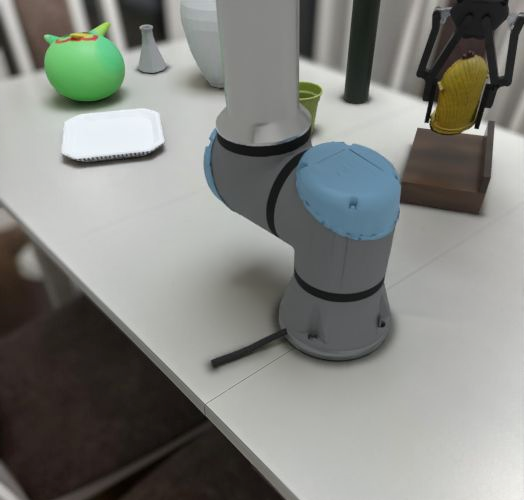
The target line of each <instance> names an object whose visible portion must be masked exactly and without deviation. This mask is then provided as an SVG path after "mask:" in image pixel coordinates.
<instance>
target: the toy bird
mask: <svg viewBox="0 0 524 500" xmlns="http://www.w3.org/2000/svg"><path fill="white" fill-rule="evenodd" d="M111 25H112V24H111V22H110V21H106V22H103V23H101V24H99V25H98V26H96V27H95V28H93V29H91V30H90V31H81V32H72V33H71V32H70V33H67V34H64V35H62V36H60V37H59V36H56V35H53V34H44V35H43V38H44V40H45V41H46V43H48V45H49V46H48V47H47V50H46V52H45V55H44V60H43V61H44V62H43V66H44V67H43V68H44V73H45V75H46V76H45V77H46V78H47V80H48V82H49V84H50V85H51V87H53V89H54V90H55V91H56V92H57V93H59V94H60V95H62V96H63V97H65V98H67V99H70V100H73V101H77V102H97V101H101V100H103V99H106V98H109V97H110V96H112V95H114V94H115V93H116V92H118V90H119V89H120V88H121V87H122V85H123V83H124V80H125V76H126V64H125V59H124V57H123V55H122V53H121V51H120V49H119V48H118V46H116V44H115V43H114V42H113V41H111V40H110V39H108V38H107V37H105V36H106V34H107V32H108V30H109V29H110V27H111Z"/></svg>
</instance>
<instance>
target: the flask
mask: <svg viewBox="0 0 524 500" xmlns="http://www.w3.org/2000/svg"><path fill="white" fill-rule="evenodd" d="M153 29H154V26H153V25H151V24H142V25H140V26H139V30H140V31H141V33H140V34H141V46H140V47H141V48H140V54H139V61H138V66H137V70H139V71H141V72H142V73H151V74H154V73H158V72H161V71H164V70H165V69H166V68H167V67H168V66H167V64H166V62H165V59H164V58H163V56H162V53H161V52H160V50H159V47H158V45H157V43H156V40H155V36H154V32H153Z"/></svg>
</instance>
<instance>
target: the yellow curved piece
mask: <svg viewBox="0 0 524 500" xmlns="http://www.w3.org/2000/svg"><path fill="white" fill-rule="evenodd" d="M489 76H490V75H489V69H488V64H487V62H486V61H485V59H484V58H483V57H482V56H481V55H478V54H476V51H472V50H470V49H469V50H467V51H466V53H463V54H462V55H461V58H460V59H457V60H456V61H454V62H453V64H452V65H451V66H449V67H448V68H447V69H446V71H445V72H444V74H443V75H442V78H441V80H439V81H438V82H437V87H438V96H437V103H436V106H435V109H434V110H433V112H431V116H430V120H429V123H428V125H429V129H431V130H432V131H433V132H435V133H438V134H441V135H456V134H459V133H464V132H466V131H468V130H470V129H472V128H473V127H474V126H475V121H476V117H477V113H478V110H479V106H480V103H481V98H482V94H483V90H484V87H485V84H486V80H487V79H489V78H490V77H489Z"/></svg>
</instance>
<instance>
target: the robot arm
mask: <svg viewBox="0 0 524 500" xmlns="http://www.w3.org/2000/svg"><path fill="white" fill-rule="evenodd" d="M509 3H510V0H455V1H454V2H453V4H452V5H451V6H448V7H441V6H440V5H439V6H438V5H437V6H436V7H434V9H433V11H432V14H431V29H430V32H429V34H428V38H427V40H426V44H425V47H424V50H423V52H422V55H421V57H420V61H419V64H418V66H417V69H416V72H415V75H416V77H417V78H419V79H420V78H421V79H422V80H423V81H424V82H425V84H424V89H423V94H422V101H423V102H427V107H426V111H425V113H426V114H425V117H424V121H423V123H424V124H429V122H430V116H431V114H432V111H433V106H434V101H435V97H436V92H437V87H438V83H437V82H439V78H436V77H437V75H438V74H439V72H440V71H441V69H442V68H443V67H444V65H445V64H446V62H447V61H448V58H449V57H450V56H451V54H452V52H453V51H454V50H455V48H456V46H457V45H458V44H459V43H460V41H461V39H463V40H464V39H467V40H469V39H474V40H475V39H476V40H478V41H484V46H485V47H484V48H485V52H486V53H485V54H486V61H487V69H488V72H489V75H490V76H489V77H488V78H489V83H488V82H487V83H486V82H485V84H484V87H483V91H482V94H481V98H480V103H479V107H478V110H477V117H476V121H475V124H474V125H473V128H474V129H475V130H480V127H481V122H482V120H483V116H484V112H485V109H492V108H493V106H494V102H495V99H496V97H497V93H498V90H499V89H500V88H503V87H507V88H508V87H510V86H511V85H512V84H513V77H514V70H515V64H516V57H517V52H518V51H517V50H518V44H519V37H520V34H521V31H522V29H523V28H524V12H523V11H521V12H519V13H517V12H514V11H511V10H510V7H509ZM216 9H217V19H218V29H219V39H220V49H221V59H222V69H223V79H224V88H223V89H224V98H225V99H224V100H225V107H224V108H223V109H222V110H221V112H219V114H218V115H217V116H216V119H215V127H214V128H213V130H212V131H211V133H210V135H209V137H208V140H209V141H210V143H209V145H208V146H207V145H205V147H204V152H203V161H202V162H203V163H202V165H203V172H204V177H205V181H206V184H207V186H208V188H209V190H210V192H211V193H212V194H213V196H215V198H217V199H218V200H219V201H220V202H221V203H222V204H223V205H225V206H226V208H228V209H229V210H230V211H232V212H233V213H236V214H237V215H239V216H241V217H243V218H245V219H247V220H248V221H250V222H251V223H253V224H255V225H256V226H258V227H260V228H261V229H263V230H264V231H266V232H267V233H269V234H271V235H273V236H275V238H278V239H279V240H281V241H283V242H284V243H285V244H288V245H289V246H290V247H292V249H293V251H294V255H293V256H294V257H293V260H294V261H293V274H292V276H291V278H290V280H289V282H288V284H287V287H286V289H285V291H284V294H283V296H282V297H281V300H280V303H279V308H278V324H279V328H280V330H277V331H276V332H273V333H271V334H269V335H267V336H265V337H263V338H261V339H259V340H257V341H254V342H253V343H251V344H249V345H247V346H244V347H242V348H240V349H237V350H234V351H232V352H229V353H226V354H223V355H221V356H218V357H214V358H212V359H210V363H211V365H212V367H216V366H219V365H221V364H224V363H227V362H230V361H233V360H236V359H238V358H241V357H243V356H245V355H248V354H250V353H252V352H255V351H256V350H258V349H260V348H262V347H264V346H266V345H268V344H270V343H273V342H274V341H276V340H278V339H281V338H283V337H284V338H285V339H286V340H287V341H288V343H290V345H292V346H293V347H294V348H296V349H297V350H299V351H300V352H302V353H305V354H306V355H309V356H312V357H314V358H318V359H322V360H329V361H347V360H348V361H349V360H355V359H358V358H361V357H364V356H367V355H368V354H370V353H372V352H374V351H376V349H378V348H379V347H380V346H381V345H382V344H383V342H384V341H385V340H386V338H387V335H388V333H389V329H390V324H391V320H392V319H391V309H390V304H389V298H388V293H387V289H386V284H385V280H386V273H387V269H388V265H389V261H390V255H391V250H392V246H393V240H394V238H395V237H394V236H395V232H396V227H397V223H398V222H399V218H400V212H401V210H400V209H401V207H400V203H401V202H400V195H401V180H400V175H399V173H398V171H397V170H396V168H395V166H394V164H392V162H391V161H390V160H389V159H388V158H386V157H385V156H384V155H382V154H381V153H380V152H378V151H376V150H374V149H372V148H370V147H368V146H366V145H365V146H364V145H362V144H358V143H355V142H354V143H352V144H347V143H346V142H345V141H328V142H322V143H319V144H316V145H313V144H312V143H313V142H312V134H313V132H312V131H311V125H312V117H311V114H310V112H309V111H308V110H307V109H306V108H305V107H304V106H303V105H302V104H301V103H300V102H299V81H300V0H216ZM448 17H451V20H452V22H453V25H454V27H455V29H454V30H453V32H452V34H451V36H450V37H449V38H448V40H447V42H446V44H445V45H444V47H443V48H442V50H441V51H440V53H439V54H438V56H437V58H436V59H435V60H434V63H433V64H432V66H430V67H431V68H430V69H429V68H427V67H428V64H429V60H430V58H431V56H432V55H431V54H432V52H433V49H434V46H435V44H436V41H437V38H438V35H439V32H440V29H441V26H442V25H444V24H445V23H446V21H447V18H448ZM506 21H507V28H508V30H509V31H510V32H509V39H508V45H507V53H506V60H505V68H504V75H499V74H500V73H499V67H498V58H497V51H496V50H497V49H496V41H495V31H496V30H497V29H499V28H500V26H501V25H502V24H503V23H504V22H506Z"/></svg>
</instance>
